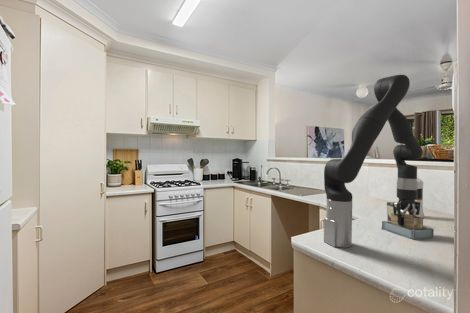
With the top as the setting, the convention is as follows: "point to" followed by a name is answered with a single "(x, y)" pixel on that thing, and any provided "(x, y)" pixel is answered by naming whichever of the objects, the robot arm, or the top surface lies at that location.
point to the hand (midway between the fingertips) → (406, 224)
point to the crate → (408, 231)
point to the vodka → (419, 197)
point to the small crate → (409, 221)
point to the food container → (390, 210)
